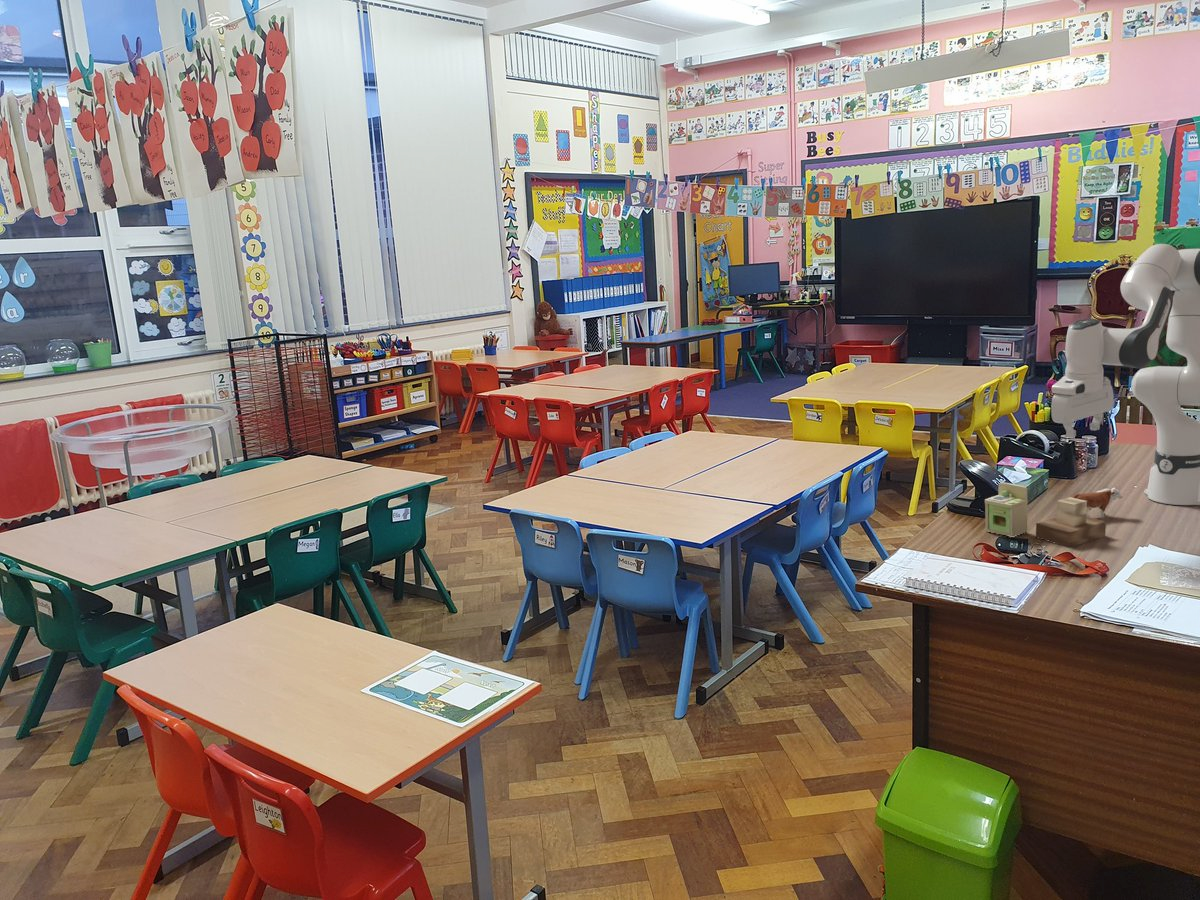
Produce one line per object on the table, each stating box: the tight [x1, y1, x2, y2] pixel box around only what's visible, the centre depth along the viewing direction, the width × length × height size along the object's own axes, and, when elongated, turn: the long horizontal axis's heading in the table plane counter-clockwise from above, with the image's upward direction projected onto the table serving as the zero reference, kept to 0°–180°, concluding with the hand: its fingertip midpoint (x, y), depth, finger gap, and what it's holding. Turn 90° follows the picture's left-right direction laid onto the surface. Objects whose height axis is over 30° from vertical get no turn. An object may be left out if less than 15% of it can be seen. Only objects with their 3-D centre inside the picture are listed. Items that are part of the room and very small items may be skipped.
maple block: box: [1055, 496, 1088, 527], centre depth 236 cm, size 5×5×6 cm
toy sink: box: [984, 481, 1028, 536], centre depth 244 cm, size 8×7×13 cm
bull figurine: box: [1072, 487, 1124, 518], centre depth 251 cm, size 4×13×8 cm, turn 89°
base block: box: [1035, 516, 1107, 548], centre depth 237 cm, size 14×10×4 cm
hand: (1083, 433), depth 236 cm, fingers open, 8 cm apart
